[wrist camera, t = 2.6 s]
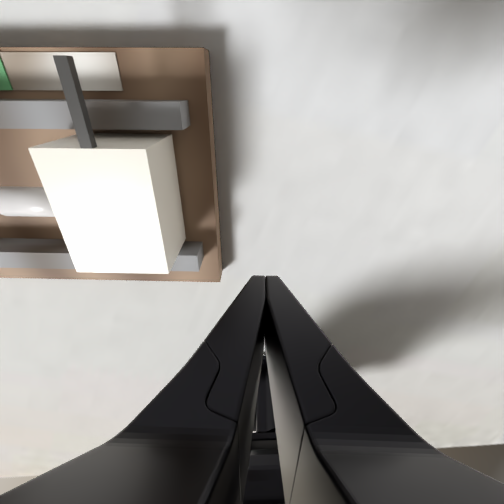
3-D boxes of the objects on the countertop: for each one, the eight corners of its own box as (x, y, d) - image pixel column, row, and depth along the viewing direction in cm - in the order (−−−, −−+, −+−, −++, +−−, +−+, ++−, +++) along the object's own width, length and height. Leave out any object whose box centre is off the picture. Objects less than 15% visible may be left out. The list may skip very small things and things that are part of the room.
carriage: (162, 62, 13) (128, 55, 10) (185, 238, 18) (168, 273, 15) (-22, 61, 14) (-117, 54, 10) (51, 235, 19) (4, 270, 15)
